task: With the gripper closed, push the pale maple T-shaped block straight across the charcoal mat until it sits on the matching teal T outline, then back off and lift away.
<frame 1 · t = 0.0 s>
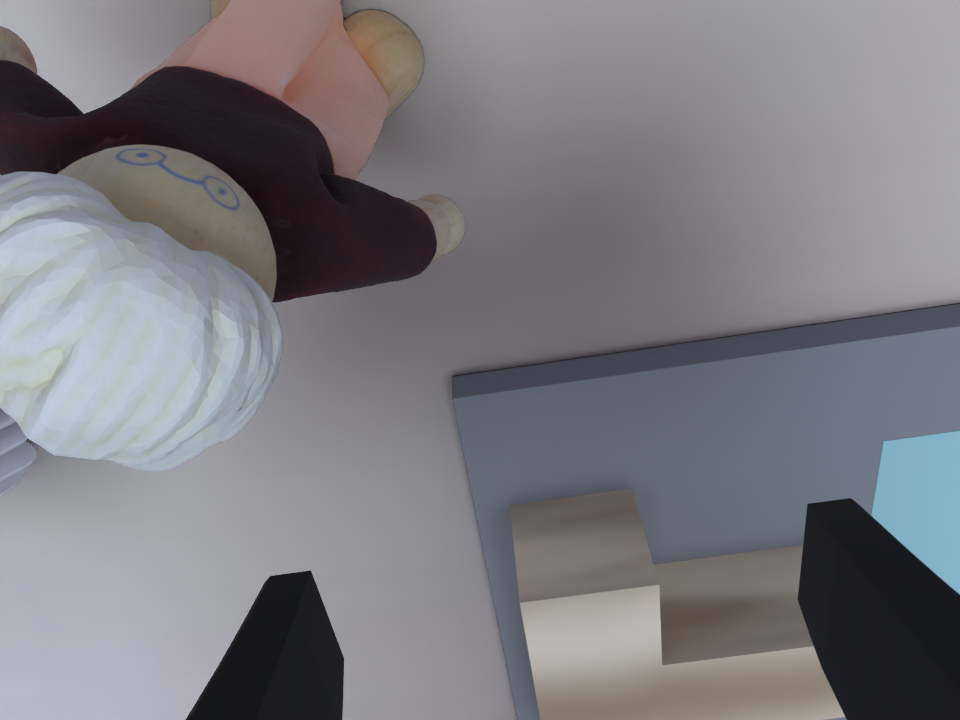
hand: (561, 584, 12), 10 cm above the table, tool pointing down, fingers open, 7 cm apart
maple T block: (685, 598, 26), point 1 cm above the table, touching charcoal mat
grandmother figurine: (290, 41, 18), on the table
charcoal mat: (894, 545, 27), on the table
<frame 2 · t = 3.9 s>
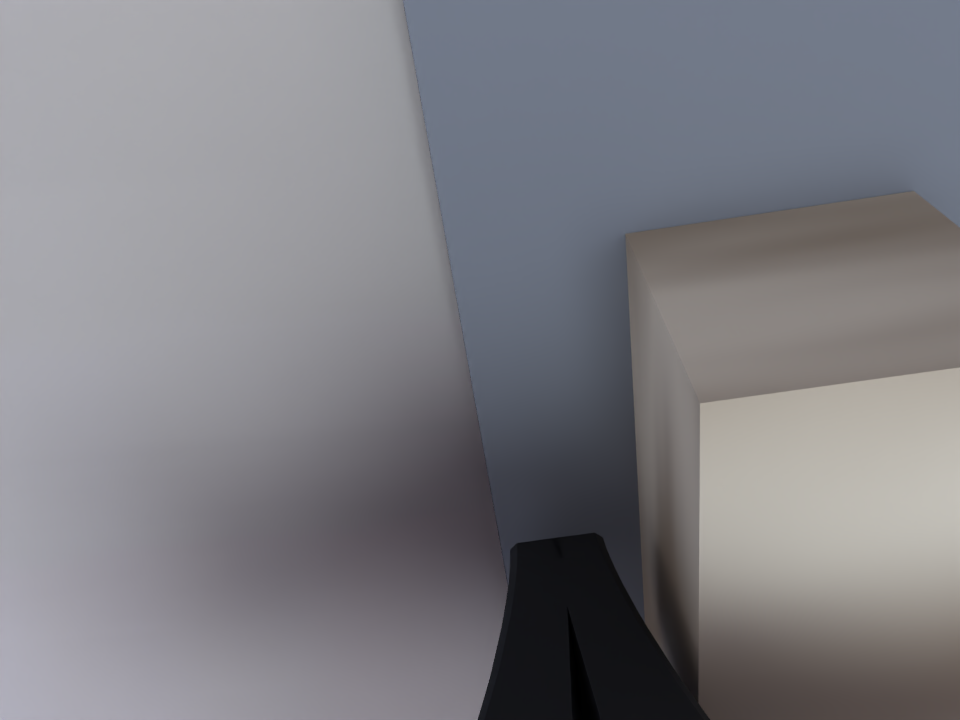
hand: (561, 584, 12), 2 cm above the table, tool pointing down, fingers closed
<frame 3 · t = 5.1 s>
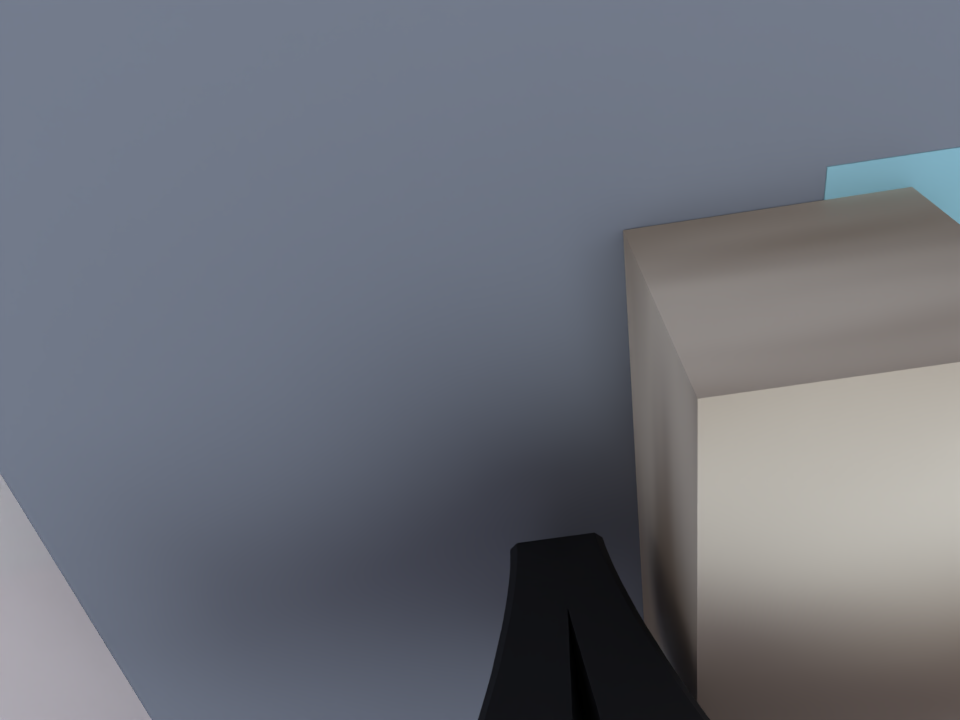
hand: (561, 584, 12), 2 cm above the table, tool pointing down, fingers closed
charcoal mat: (864, 449, 14), on the table
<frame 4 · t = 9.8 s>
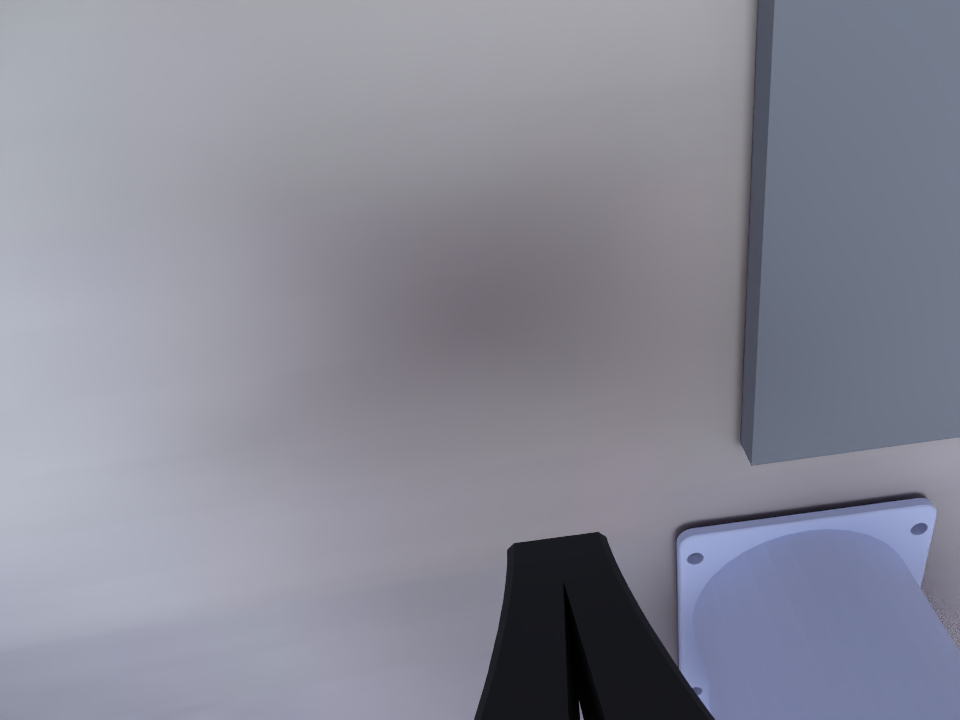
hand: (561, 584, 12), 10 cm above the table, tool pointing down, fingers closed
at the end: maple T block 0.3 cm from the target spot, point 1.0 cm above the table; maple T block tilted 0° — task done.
